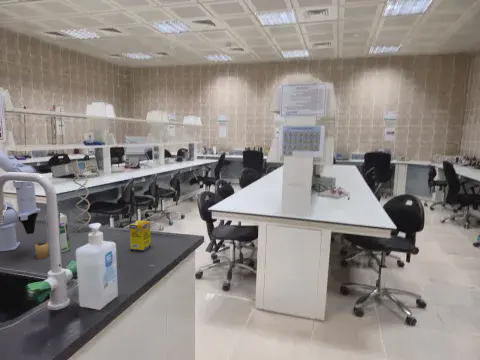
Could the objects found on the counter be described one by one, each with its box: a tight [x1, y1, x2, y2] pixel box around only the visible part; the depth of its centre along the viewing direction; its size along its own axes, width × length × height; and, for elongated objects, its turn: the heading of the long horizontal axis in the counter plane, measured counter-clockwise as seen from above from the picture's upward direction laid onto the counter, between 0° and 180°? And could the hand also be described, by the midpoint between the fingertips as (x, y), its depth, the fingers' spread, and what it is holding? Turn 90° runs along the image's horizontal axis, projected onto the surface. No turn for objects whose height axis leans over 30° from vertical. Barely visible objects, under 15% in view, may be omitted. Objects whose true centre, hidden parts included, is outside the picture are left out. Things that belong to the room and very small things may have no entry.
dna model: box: [72, 167, 92, 232], centre depth 144 cm, size 7×6×30 cm
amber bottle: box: [34, 239, 50, 260], centre depth 118 cm, size 4×4×6 cm
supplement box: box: [129, 219, 152, 253], centre depth 126 cm, size 6×6×11 cm
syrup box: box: [44, 212, 71, 253], centre depth 123 cm, size 6×6×14 cm
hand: (30, 233), depth 119 cm, fingers closed
